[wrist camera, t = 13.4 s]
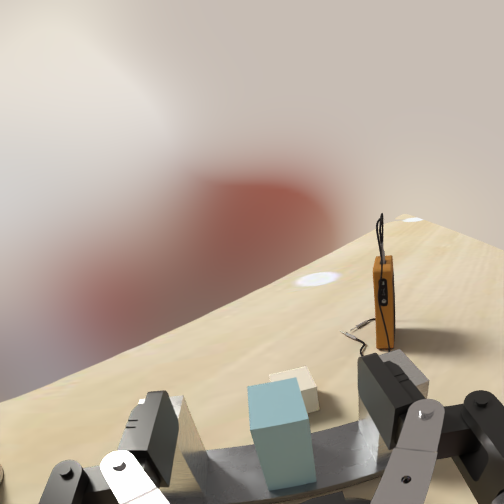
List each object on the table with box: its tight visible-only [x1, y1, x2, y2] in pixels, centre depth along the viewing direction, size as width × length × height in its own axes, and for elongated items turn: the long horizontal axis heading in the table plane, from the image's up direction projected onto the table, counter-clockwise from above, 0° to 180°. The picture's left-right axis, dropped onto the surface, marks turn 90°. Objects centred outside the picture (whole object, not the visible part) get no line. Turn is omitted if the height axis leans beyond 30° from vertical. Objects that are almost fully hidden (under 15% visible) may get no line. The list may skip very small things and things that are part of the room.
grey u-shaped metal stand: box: [139, 349, 429, 504], centre depth 26 cm, size 26×8×10 cm, turn 93°
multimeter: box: [339, 213, 395, 356], centre depth 47 cm, size 15×10×20 cm
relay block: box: [269, 366, 319, 413], centre depth 37 cm, size 5×5×4 cm
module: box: [248, 377, 317, 491], centre depth 26 cm, size 4×6×9 cm
